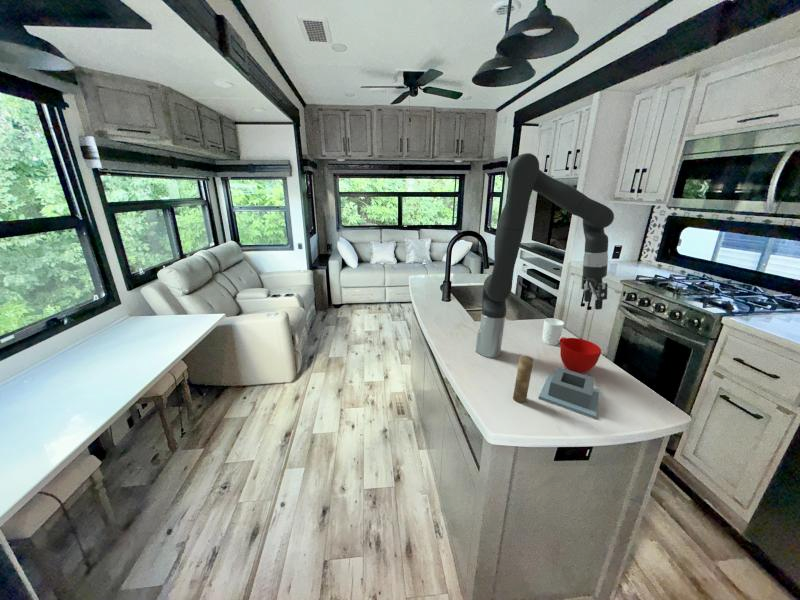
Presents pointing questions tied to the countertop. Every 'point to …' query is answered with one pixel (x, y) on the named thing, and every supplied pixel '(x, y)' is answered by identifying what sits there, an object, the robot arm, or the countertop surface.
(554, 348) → the countertop surface
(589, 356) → the ceramic cup
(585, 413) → the socket block
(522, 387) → the wooden cylinder
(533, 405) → the countertop surface
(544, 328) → the white cup
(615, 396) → the countertop surface
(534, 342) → the countertop surface
